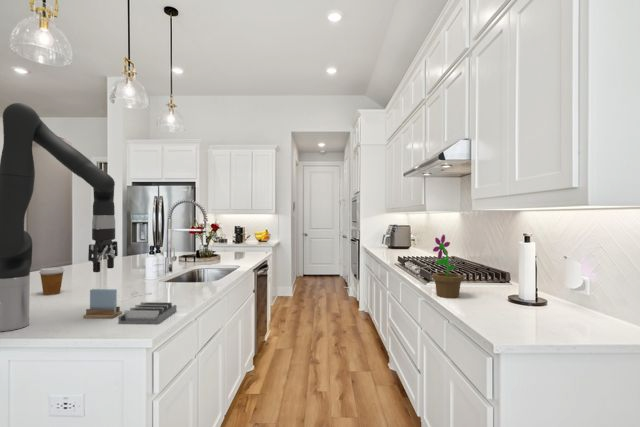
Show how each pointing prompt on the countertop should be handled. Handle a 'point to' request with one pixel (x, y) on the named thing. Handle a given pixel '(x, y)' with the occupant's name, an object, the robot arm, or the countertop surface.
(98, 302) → the plate
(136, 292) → the scissors
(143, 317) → the dish rack
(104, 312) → the plate stand
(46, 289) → the disposable coffee cup
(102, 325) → the countertop surface
